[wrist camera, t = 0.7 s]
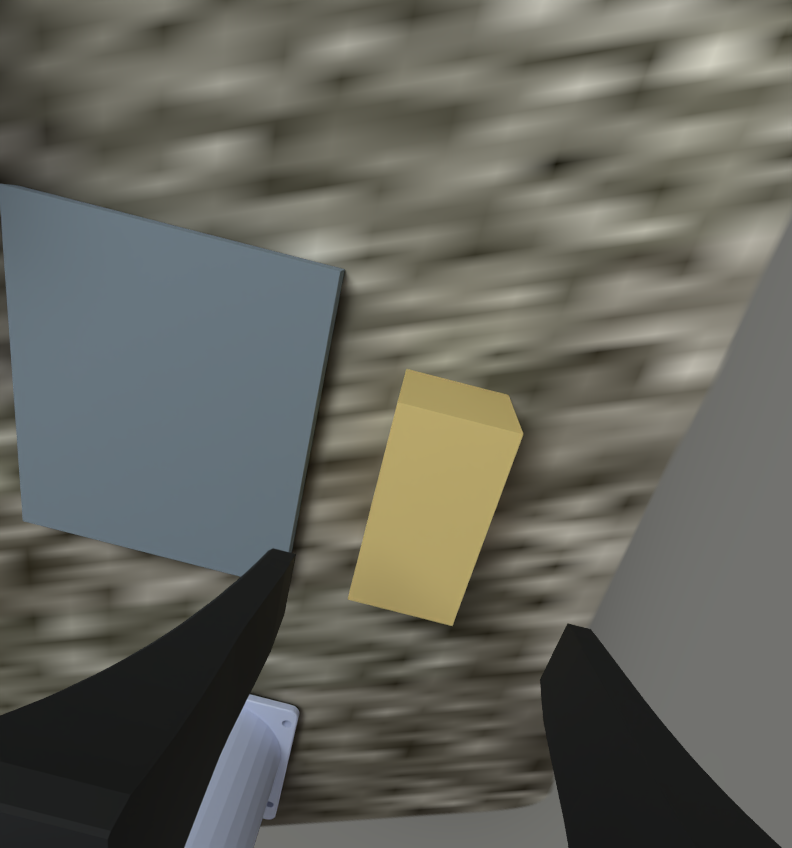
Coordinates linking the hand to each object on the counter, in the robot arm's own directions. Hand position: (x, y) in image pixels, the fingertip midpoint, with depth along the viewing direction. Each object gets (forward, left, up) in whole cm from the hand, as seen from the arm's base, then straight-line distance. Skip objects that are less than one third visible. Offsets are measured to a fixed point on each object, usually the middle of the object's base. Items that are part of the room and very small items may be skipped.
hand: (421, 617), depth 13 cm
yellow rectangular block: (0, 0, -8) cm, 8 cm away
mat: (0, +11, -8) cm, 14 cm away
